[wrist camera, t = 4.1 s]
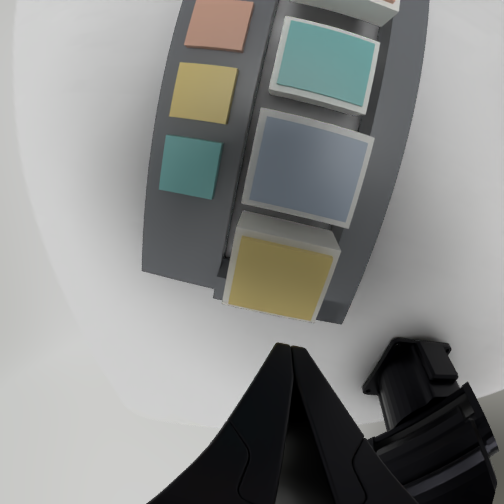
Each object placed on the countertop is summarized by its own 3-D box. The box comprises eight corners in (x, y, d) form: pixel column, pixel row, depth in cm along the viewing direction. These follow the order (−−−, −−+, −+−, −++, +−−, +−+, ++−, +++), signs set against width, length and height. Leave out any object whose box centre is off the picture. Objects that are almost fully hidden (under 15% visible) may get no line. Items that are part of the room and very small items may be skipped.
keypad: (336, 302, 20) (341, 324, 17) (150, 260, 20) (135, 278, 17) (414, -11, 10) (430, -24, 8) (212, -56, 10) (203, -74, 8)
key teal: (347, 116, 15) (367, 114, 11) (270, 96, 15) (268, 88, 11) (360, 57, 13) (382, 41, 10) (284, 37, 13) (285, 13, 10)
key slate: (333, 204, 15) (350, 231, 11) (249, 184, 15) (239, 205, 11) (352, 134, 13) (377, 138, 10) (265, 112, 13) (260, 106, 10)
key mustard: (308, 283, 17) (314, 327, 13) (233, 267, 17) (220, 307, 13) (328, 222, 15) (342, 253, 12) (245, 203, 15) (235, 229, 12)
